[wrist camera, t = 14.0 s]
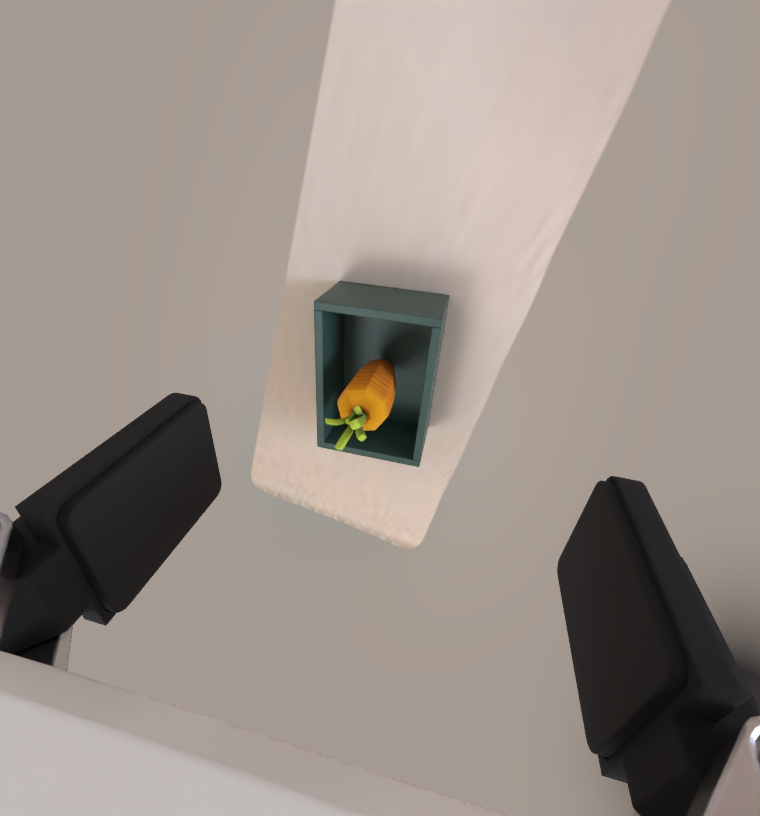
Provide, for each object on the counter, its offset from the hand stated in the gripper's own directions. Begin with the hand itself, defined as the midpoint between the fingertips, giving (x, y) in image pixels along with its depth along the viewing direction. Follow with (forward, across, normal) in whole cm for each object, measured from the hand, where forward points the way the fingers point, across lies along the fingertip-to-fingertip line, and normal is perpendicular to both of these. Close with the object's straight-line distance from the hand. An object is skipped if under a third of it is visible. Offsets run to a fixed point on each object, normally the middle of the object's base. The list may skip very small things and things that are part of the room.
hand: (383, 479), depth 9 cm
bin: (+33, +6, +13) cm, 36 cm away
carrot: (+33, +6, +13) cm, 36 cm away
